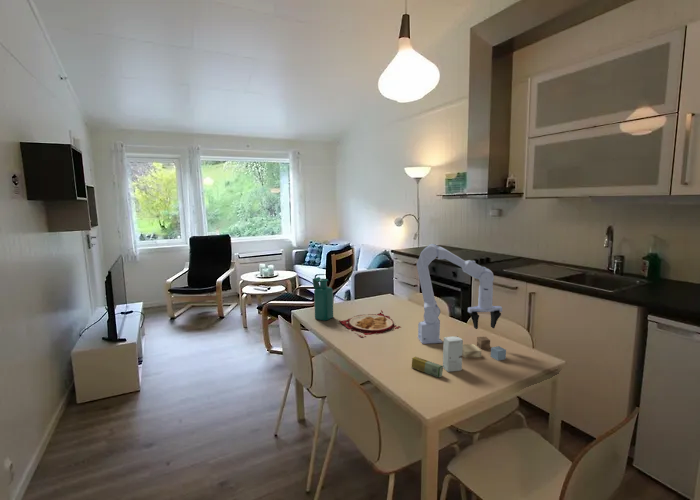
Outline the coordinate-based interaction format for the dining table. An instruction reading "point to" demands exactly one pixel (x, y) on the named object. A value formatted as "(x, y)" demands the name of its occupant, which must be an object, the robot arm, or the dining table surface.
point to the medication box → (427, 367)
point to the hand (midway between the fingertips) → (484, 327)
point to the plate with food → (370, 323)
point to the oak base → (470, 351)
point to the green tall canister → (323, 299)
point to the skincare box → (452, 353)
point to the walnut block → (483, 342)
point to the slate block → (498, 353)
